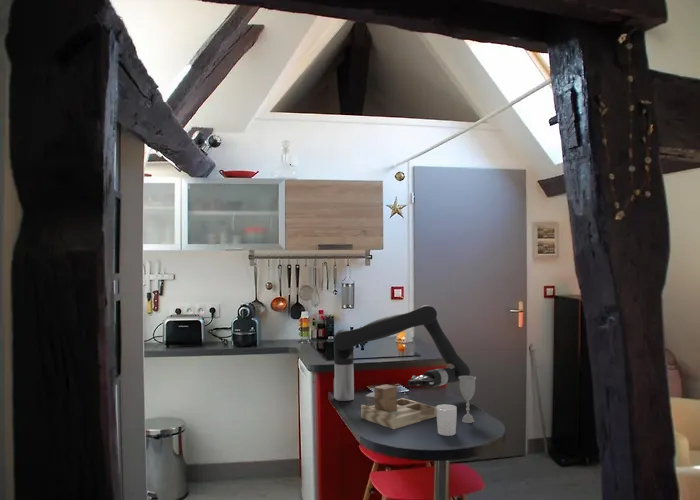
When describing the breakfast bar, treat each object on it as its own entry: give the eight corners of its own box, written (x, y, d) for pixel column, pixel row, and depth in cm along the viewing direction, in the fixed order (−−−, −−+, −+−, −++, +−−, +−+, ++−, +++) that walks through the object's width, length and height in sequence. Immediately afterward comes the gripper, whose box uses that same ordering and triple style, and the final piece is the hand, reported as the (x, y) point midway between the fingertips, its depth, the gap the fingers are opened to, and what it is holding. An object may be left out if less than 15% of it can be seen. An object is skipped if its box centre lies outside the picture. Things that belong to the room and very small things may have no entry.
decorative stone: (365, 413, 233) (388, 412, 232) (364, 397, 233) (387, 397, 232) (367, 404, 247) (388, 404, 247) (366, 390, 248) (387, 389, 247)
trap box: (361, 417, 225) (360, 405, 225) (402, 406, 241) (402, 394, 241) (393, 429, 210) (393, 415, 210) (436, 416, 226) (435, 403, 226)
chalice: (477, 419, 221) (477, 376, 221) (476, 424, 214) (475, 379, 215) (460, 418, 223) (459, 375, 223) (458, 422, 217) (457, 378, 217)
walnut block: (374, 410, 221) (374, 386, 221) (387, 407, 225) (386, 384, 225) (384, 414, 216) (384, 389, 216) (396, 410, 221) (396, 386, 221)
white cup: (434, 430, 208) (433, 404, 208) (453, 429, 208) (453, 403, 209) (439, 437, 200) (438, 410, 200) (459, 436, 201) (459, 409, 201)
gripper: (425, 367, 247) (398, 372, 236) (446, 372, 237) (420, 377, 226) (425, 383, 247) (398, 389, 236) (447, 388, 237) (420, 395, 226)
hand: (409, 383), depth 231 cm, fingers closed
